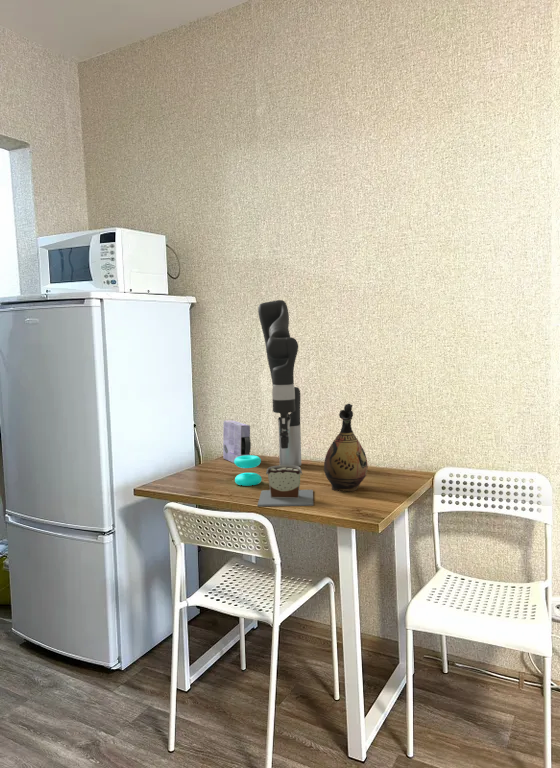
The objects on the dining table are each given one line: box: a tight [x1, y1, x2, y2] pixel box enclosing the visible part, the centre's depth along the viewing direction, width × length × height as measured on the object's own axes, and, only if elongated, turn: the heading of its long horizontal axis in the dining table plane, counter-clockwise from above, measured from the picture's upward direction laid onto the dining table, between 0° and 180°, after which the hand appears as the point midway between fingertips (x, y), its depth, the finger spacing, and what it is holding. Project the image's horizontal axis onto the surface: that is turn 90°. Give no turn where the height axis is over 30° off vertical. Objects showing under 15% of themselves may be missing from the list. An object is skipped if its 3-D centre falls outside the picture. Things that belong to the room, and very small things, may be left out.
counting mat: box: [257, 489, 314, 507], centre depth 205 cm, size 18×18×1 cm
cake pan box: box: [222, 419, 252, 464], centre depth 266 cm, size 19×5×18 cm, turn 30°
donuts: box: [233, 454, 263, 487], centre depth 227 cm, size 10×10×10 cm
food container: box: [265, 464, 303, 498], centre depth 206 cm, size 12×6×10 cm, turn 79°
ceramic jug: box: [323, 403, 369, 493], centre depth 216 cm, size 17×15×30 cm
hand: (285, 445), depth 203 cm, fingers open, 8 cm apart
